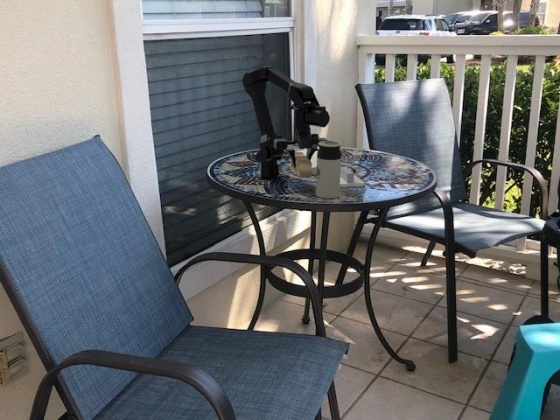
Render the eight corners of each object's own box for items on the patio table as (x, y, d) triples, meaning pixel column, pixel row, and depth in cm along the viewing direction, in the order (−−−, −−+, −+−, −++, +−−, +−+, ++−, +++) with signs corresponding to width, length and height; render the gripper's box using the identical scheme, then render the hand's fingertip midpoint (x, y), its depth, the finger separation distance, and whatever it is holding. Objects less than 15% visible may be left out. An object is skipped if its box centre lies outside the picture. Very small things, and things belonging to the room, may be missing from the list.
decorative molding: (302, 182, 218) (328, 176, 217) (299, 171, 216) (325, 164, 216) (298, 162, 250) (320, 156, 249) (295, 151, 249) (317, 146, 248)
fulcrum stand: (337, 186, 202) (338, 174, 200) (328, 178, 213) (329, 166, 211) (364, 185, 203) (365, 173, 202) (354, 177, 215) (354, 165, 213)
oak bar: (311, 177, 192) (311, 163, 191) (299, 177, 192) (300, 163, 190) (301, 164, 209) (301, 151, 208) (290, 165, 208) (290, 151, 207)
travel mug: (338, 192, 195) (341, 140, 189) (339, 199, 187) (342, 145, 182) (315, 192, 195) (317, 140, 190) (315, 198, 188) (317, 145, 182)
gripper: (279, 128, 186) (278, 174, 191) (334, 127, 189) (332, 172, 194) (273, 122, 196) (273, 166, 201) (325, 121, 200) (324, 165, 205)
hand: (300, 167), depth 200 cm, fingers closed on oak bar, 4 cm apart
